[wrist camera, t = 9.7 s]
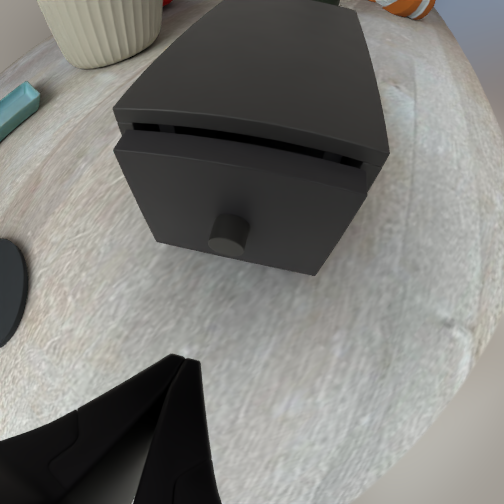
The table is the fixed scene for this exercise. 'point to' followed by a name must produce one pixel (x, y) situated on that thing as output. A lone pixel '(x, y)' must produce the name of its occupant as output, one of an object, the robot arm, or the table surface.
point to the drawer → (241, 194)
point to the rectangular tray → (17, 107)
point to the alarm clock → (407, 7)
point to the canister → (102, 28)
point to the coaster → (11, 289)
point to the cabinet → (268, 80)
